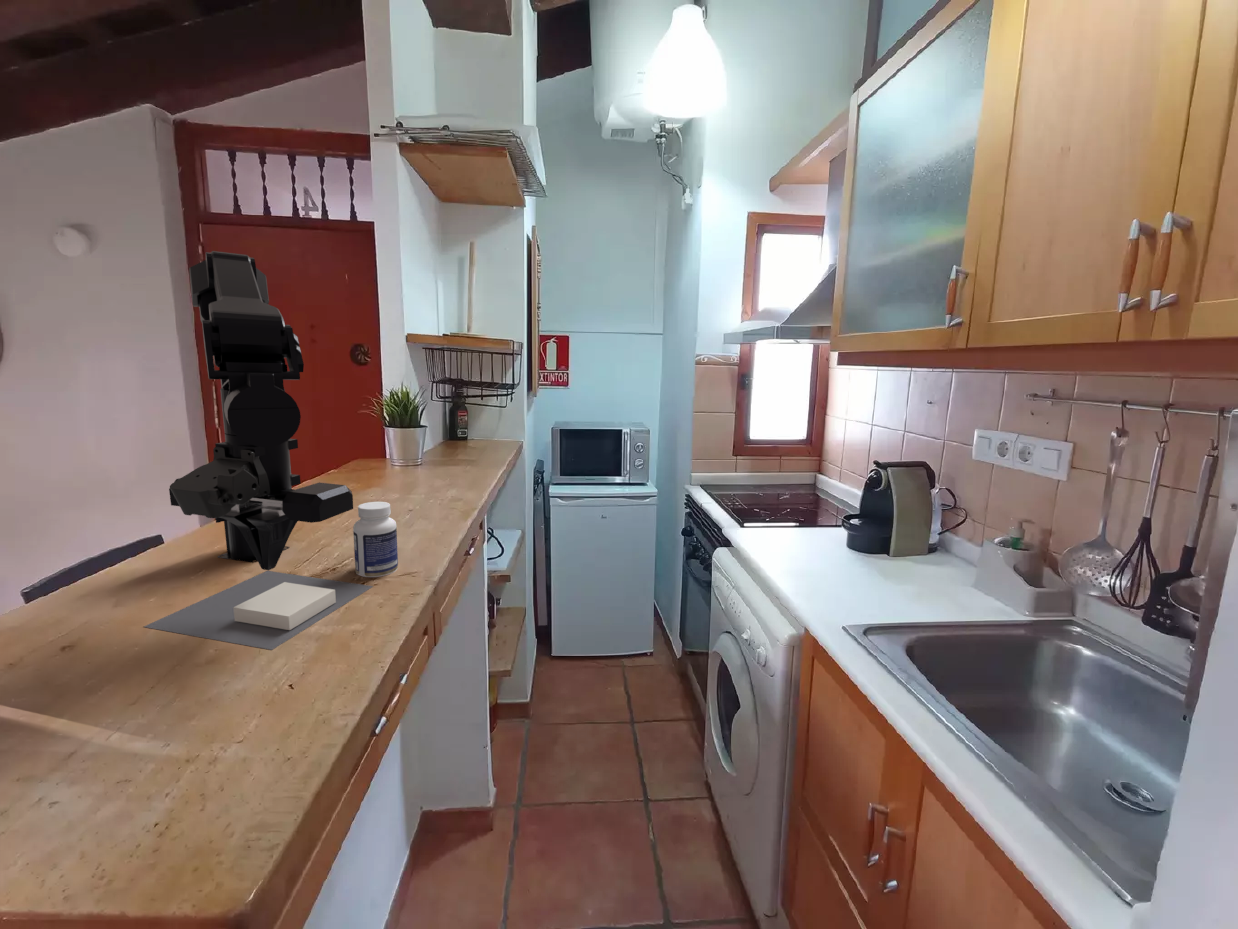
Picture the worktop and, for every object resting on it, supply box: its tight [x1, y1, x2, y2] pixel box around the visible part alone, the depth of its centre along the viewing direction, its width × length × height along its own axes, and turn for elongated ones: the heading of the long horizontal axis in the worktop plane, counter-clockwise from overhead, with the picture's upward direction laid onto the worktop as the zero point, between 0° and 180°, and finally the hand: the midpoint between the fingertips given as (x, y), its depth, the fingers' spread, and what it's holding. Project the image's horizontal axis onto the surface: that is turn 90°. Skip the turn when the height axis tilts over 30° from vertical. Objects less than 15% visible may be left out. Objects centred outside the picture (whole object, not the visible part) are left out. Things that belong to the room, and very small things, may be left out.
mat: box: [143, 570, 374, 651], centre depth 65 cm, size 16×16×1 cm
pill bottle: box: [352, 501, 399, 578], centre depth 75 cm, size 5×5×10 cm
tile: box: [233, 582, 336, 630], centre depth 63 cm, size 2×7×7 cm
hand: (268, 568), depth 62 cm, fingers closed
